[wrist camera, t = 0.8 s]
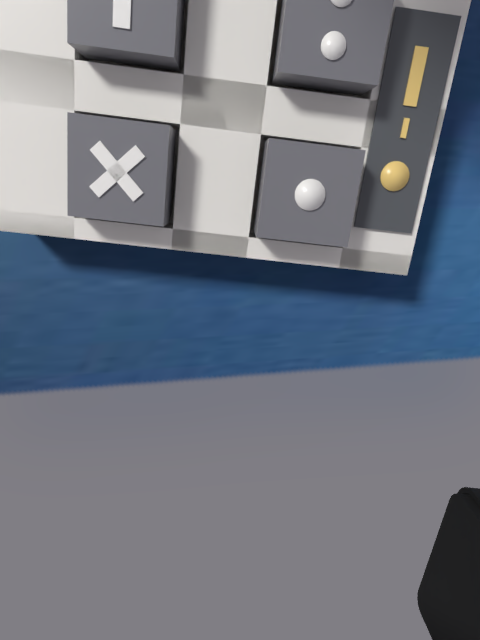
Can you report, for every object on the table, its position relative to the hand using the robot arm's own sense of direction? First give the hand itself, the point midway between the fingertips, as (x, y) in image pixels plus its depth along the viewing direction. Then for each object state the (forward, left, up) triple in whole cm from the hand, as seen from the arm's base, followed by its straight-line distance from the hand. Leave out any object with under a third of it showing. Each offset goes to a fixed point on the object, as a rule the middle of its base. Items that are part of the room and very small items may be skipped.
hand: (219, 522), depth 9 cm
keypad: (-10, -1, -22) cm, 25 cm away
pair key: (-14, +4, -20) cm, 25 cm away
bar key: (-14, -6, -20) cm, 25 cm away
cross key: (-6, -6, -20) cm, 22 cm away
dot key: (-6, +4, -20) cm, 21 cm away
